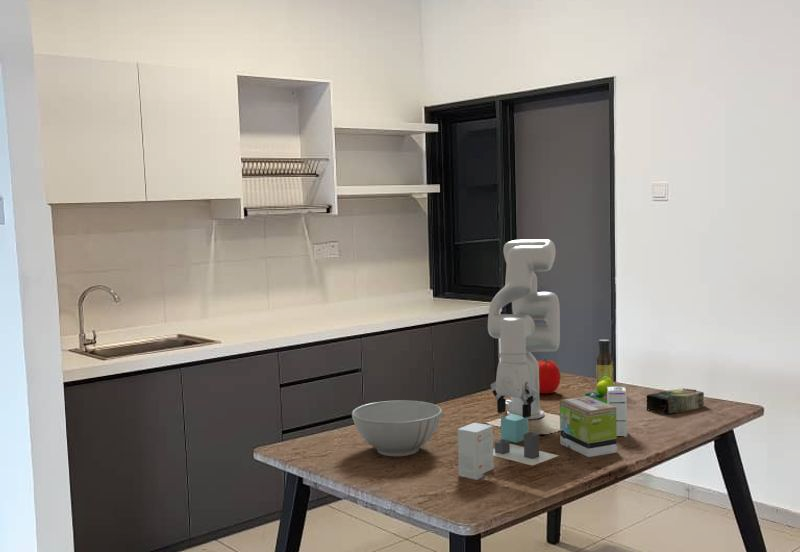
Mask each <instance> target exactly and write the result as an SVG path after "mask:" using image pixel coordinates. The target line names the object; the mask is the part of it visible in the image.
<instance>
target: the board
mask: <svg viewBox="0 0 800 552" xmlns="http://www.w3.org/2000/svg"><path fill="white" fill-rule="evenodd" d="M510 442H511V441H506V440H502V439H500V440H498V441H494V448H493V457H498V458H501V459H506V460H509V461H514V462H518V463H521V464H525V465H528V466H536V465H538V464H540V463H543V462H546V461H549V460H552V459H554V458H557V457H559V456H560V455H559V454H555V453H554V454H553V453H550V452H546V451H541V450H539V457H537V458H534V459H530V458H526V457H524V446H521V445H517V444H513V443H510Z"/></svg>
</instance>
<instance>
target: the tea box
mask: <svg viewBox="0 0 800 552" xmlns="http://www.w3.org/2000/svg"><path fill="white" fill-rule="evenodd" d="M559 435H560V436H559V437H560V438H559V439H560V440H559V442H560V445H562V446H564V447H566V448H568V449H570V450H573V451H575V452H577V453H579V454H581V455H584V456H585V457H587V458H590V457H591V458H592V457H598V456H602V455H604V456H605V455H609V454H614V453H617V449H618V448H617V442H618V441H617V431H616V407H615V406H612V405H609V404H607V403H604V402H601V401H598V400H596V399H593V398H590V397H588V396H584V397H583V396H578V397H572V398H567V399H559Z"/></svg>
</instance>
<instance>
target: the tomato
mask: <svg viewBox="0 0 800 552" xmlns="http://www.w3.org/2000/svg"><path fill="white" fill-rule="evenodd" d="M537 362H538V365H539V394H545V395H546V394H552V393H554V392H555V391H556V390H557V389H558V388H559V386H560V383H561V372H560V368H559V367H558V365H557V363H556V362H554V361H553V360H550V359H547V358H545V359H538V360H537Z"/></svg>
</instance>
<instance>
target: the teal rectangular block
mask: <svg viewBox="0 0 800 552" xmlns="http://www.w3.org/2000/svg"><path fill="white" fill-rule="evenodd" d="M526 433H529V419H528V417H527V418H523V416H519V415H515V414H512V415H506V416H503V417H502V416H501V417H500V440H504V441H508V442H512V443H514V444H517V443H520V442H522V441H523V442H524V434H526Z"/></svg>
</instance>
